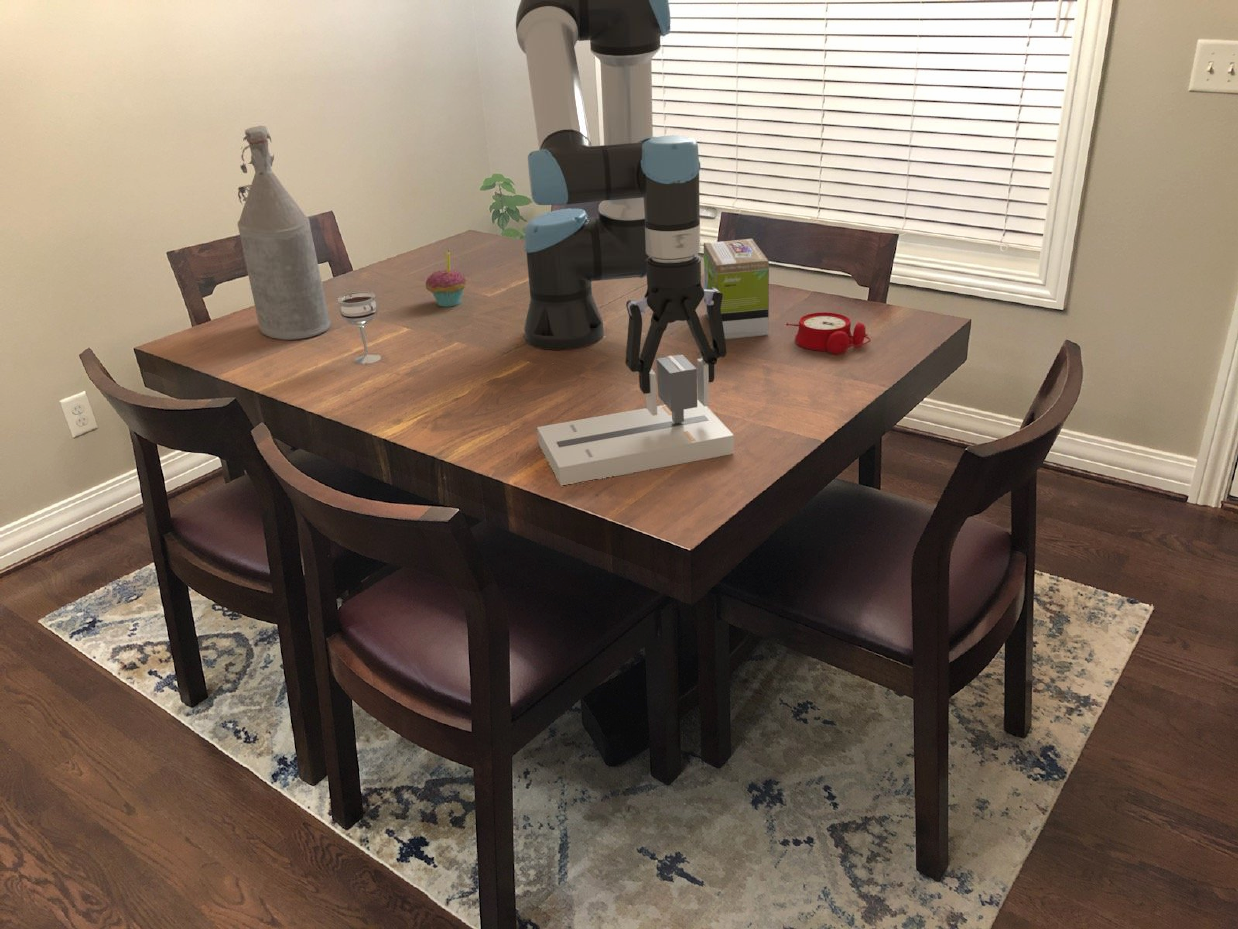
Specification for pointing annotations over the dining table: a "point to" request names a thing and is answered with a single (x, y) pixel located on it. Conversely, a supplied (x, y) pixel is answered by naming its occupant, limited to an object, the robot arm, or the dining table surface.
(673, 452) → the console
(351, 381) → the dining table surface
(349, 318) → the wineglass
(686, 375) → the fader knob
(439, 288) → the cupcake
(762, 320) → the tea box
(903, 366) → the dining table surface
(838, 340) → the alarm clock
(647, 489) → the dining table surface
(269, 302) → the stoneware bottle
